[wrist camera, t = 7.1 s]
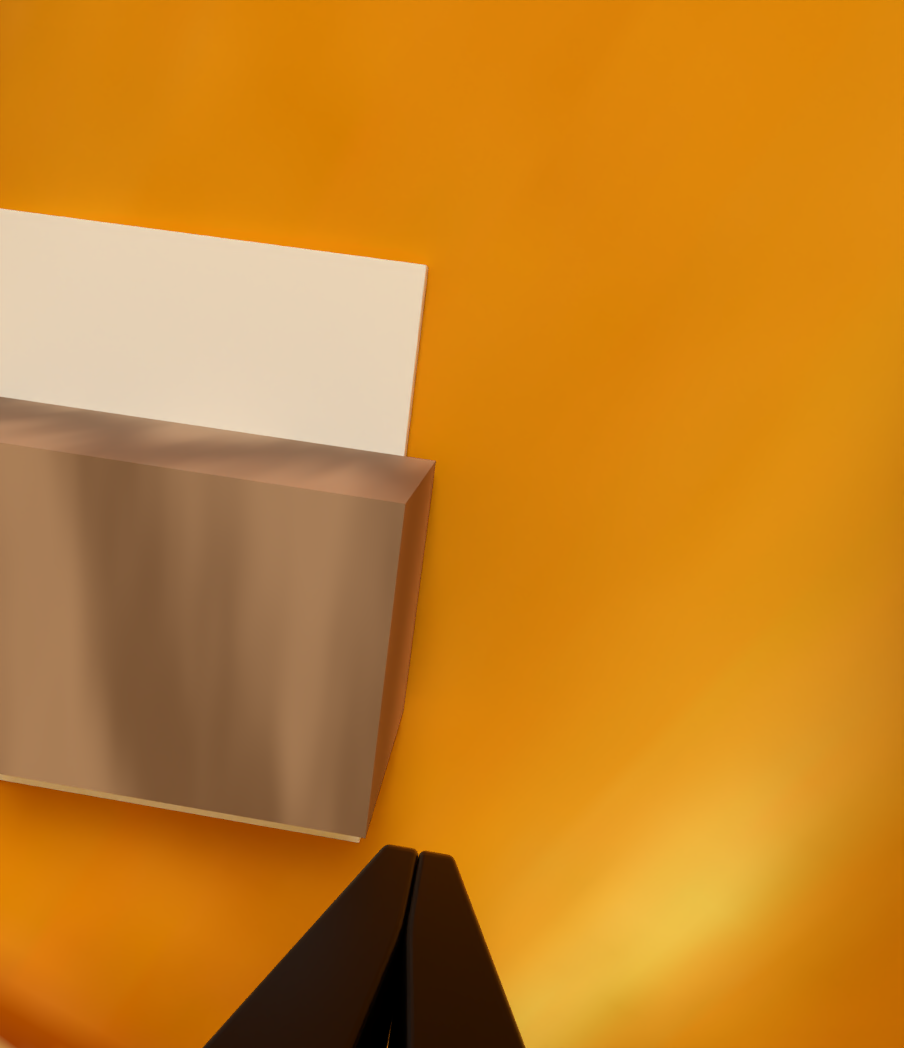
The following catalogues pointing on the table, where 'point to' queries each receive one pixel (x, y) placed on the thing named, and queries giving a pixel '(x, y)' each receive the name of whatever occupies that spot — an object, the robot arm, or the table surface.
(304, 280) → the mat
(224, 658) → the walnut block
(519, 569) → the table surface
